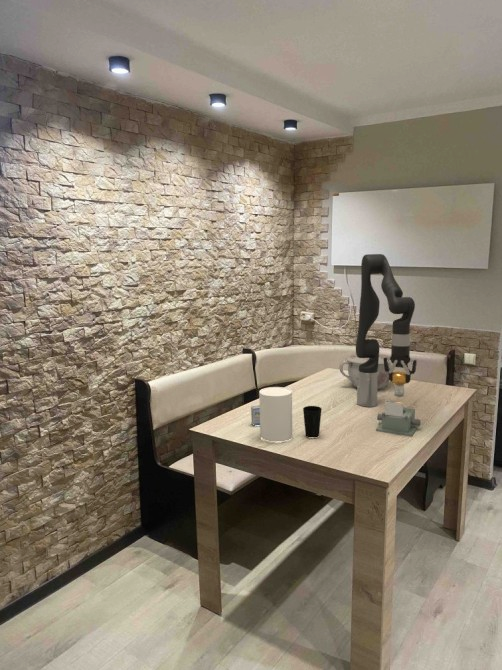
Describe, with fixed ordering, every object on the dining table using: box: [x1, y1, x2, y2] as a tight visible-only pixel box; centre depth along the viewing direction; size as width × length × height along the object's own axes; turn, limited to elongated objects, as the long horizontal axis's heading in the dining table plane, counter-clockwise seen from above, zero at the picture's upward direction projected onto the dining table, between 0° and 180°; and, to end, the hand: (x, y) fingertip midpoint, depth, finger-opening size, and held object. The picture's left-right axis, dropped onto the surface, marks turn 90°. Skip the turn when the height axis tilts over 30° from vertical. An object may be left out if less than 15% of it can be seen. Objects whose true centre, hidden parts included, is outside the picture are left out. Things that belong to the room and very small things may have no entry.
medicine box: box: [250, 404, 260, 425], centre depth 224 cm, size 8×4×9 cm, turn 105°
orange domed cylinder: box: [391, 371, 407, 398], centre depth 215 cm, size 6×6×10 cm
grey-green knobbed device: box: [375, 406, 422, 437], centre depth 217 cm, size 18×18×8 cm
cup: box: [302, 405, 322, 438], centre depth 209 cm, size 8×8×12 cm
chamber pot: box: [338, 353, 393, 391], centre depth 280 cm, size 28×28×21 cm
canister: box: [258, 386, 293, 441], centre depth 207 cm, size 14×14×20 cm
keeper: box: [384, 400, 404, 419], centre depth 208 cm, size 7×1×8 cm, turn 61°
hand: (399, 381), depth 215 cm, fingers closed on orange domed cylinder, 6 cm apart
